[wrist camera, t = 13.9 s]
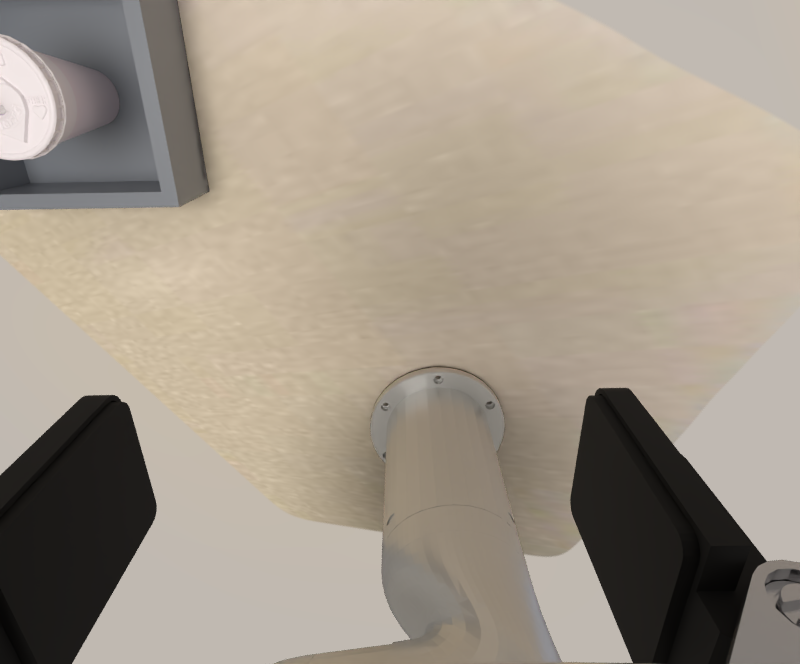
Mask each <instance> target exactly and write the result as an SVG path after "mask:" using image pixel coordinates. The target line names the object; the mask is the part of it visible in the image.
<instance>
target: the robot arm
mask: <svg viewBox="0 0 800 664" xmlns="http://www.w3.org/2000/svg"><path fill="white" fill-rule="evenodd" d="M436 376H439V377H436ZM489 401H490V402H489ZM504 430H505V424H504V416H503V412H502V408H501V406H500V403H499V401H498V398H497V397H496V396H495V394H494V393H493V391H492V390H491V389H490V388H489V387H488V386H487V385H486V384H485V383H484V382H483V381H481V380H480V379H478V378H477V377H475V376H473V375H471V374H469V373H466V372H464V371H461V370H457V369H452V368H441V367H433V368H426V369H420V370H417V371H414V372H411V373H408V374H406V375H404V376H402V377H400V378H398V379H397V380H396V381H394V382H393V383H392V384H390V385H389V386H388V387H387V388H386V389H385V390H384V391H383V393H382V394H381V395H380V396H379V398H378V400H377V402H376V403H375V405H374V408H373V412H372V415H371V423H370V432H371V439H372V443H373V446H374V448H375V450H376V452H377V454H378V456H379V457H380V458H381V459H382V461H383V462H384V463H385V489H384V515H383V543H382V584H383V588H384V593H385V596H386V599H387V601H388V604H389V607H390V609H391V611H392V613H393V615H394V616H395V618H396V620H397V621H398V622H399V624H400V626H401V627H402V629H403V630H404V631H405V633H406V634H407V635H408V636H409V638H410V640H404V641H398V642H393V643H392V644H389V645H381V646H373V647H365V648H358V649H350V650H343V651H335V652H327V653H320V654H312V655H305V656H300V657H295V658H290V659H286V660H282V661H279V662H277V663H274V664H800V563H799V562H792V561H786V560H776V561H766V560H765V559H764V557H763V556H762V555H761V553H760V552H759V551H758V550H757V548H756V547H755V546H754V544H753V543H752V542H751V541H750V539H749V538H748V537H747V535H746V534H745V533H744V532H743V530H742V529H741V528H740V527H739V525H738V524H737V523H736V522H735V520H734V519H733V518H732V516H731V515H730V514H729V513H728V511H727V510H726V509H725V508H724V506H723V505H722V504H721V502H720V501H719V500H718V499H717V497H716V496H715V495H714V493H713V492H712V491H711V490H710V488H709V487H708V486H707V485H706V484H705V482H704V481H703V480H702V478H701V477H700V476H699V474H698V473H697V472H696V471H695V469H694V468H693V467H692V466H691V464H690V463H689V462H688V460H687V459H686V458H685V457H683V455H681V454H680V453H679V451H678V450H677V449H676V448H675V446H674V445H673V444H672V442H671V441H670V440H669V439H668V437H667V436H666V435H665V433H664V432H663V431H662V430H661V428H660V427H659V426H658V424H657V423H656V422H655V421H654V419H653V418H652V417H651V415H650V414H649V413H648V412H647V410H646V409H645V408H644V406H643V405H642V404H641V403H640V401H639V400H638V399H637V397H636V396H635V395H634V394H633V392H632V391H631V390H630V389H628V388H599V389H598V390H597V391H596V393H595V396H588V398H587V400H586V405H585V411H584V417H583V424H582V430H581V436H580V442H579V448H578V455H577V461H576V467H575V473H574V480H573V486H572V492H571V500H570V501H571V511H572V515H573V518H574V520H575V523H576V525H577V527H578V530H579V532H580V535H581V537H582V540H583V542H584V545H585V547H586V549H587V552H588V554H589V557H590V559H591V562H592V564H593V566H594V569H595V571H596V574H597V576H598V578H599V581H600V583H601V586H602V588H603V591H604V593H605V596H606V598H607V600H608V603H609V605H610V608H611V610H612V613H613V615H614V618H615V620H616V622H617V625H618V627H619V630H620V632H621V634H622V637H623V640H624V642H625V644H626V647H627V649H628V652H629V654H630V657H631V659H632V661H633V663H580V662H579V663H578V662H573V663H572V662H562V661H561V659H560V657H559V654H558V652H557V650H556V647H555V645H554V643H553V641H552V638H551V636H550V633H549V631H548V629H547V626H546V623H545V621H544V618H543V616H542V613H541V610H540V607H539V604H538V601H537V598H536V595H535V592H534V589H533V585H532V582H531V579H530V575H529V572H528V569H527V565H526V561H525V558H524V554H523V550H522V547H521V543H520V539H519V536H518V532H517V528H516V524H515V521H514V517H513V513H512V510H511V506H510V502H509V498H508V495H507V491H506V487H505V484H504V480H503V476H502V472H501V469H500V465H499V461H498V458H497V454H496V452H497V451H498V449H499V447H500V445H501V442H502V440H503V435H504ZM155 515H156V500H155V497H154V493H153V490H152V486H151V482H150V479H149V475H148V472H147V468H146V465H145V461H144V458H143V454H142V450H141V447H140V443H139V440H138V436H137V433H136V429H135V426H134V422H133V418H132V415H131V411H130V408H129V406H128V405H127V403H125V402H121V400H120V399H119V398H118V397H117V396H115V395H99V396H98V395H93V396H84V397H82V398H81V399H80V400H78V402H76V403H75V404H74V405H73V406H72V407H71V408H70V409H69V410H68V411H67V412H66V413H65V414H64V415H63V416H62V417H61V418H60V419H59V420H58V421H57V422H56V423H54V424H53V425H52V426H51V427H50V428H49V429H48V430H47V431H46V432H45V433H44V434H43V435H42V436H41V437H40V438H39V439H38V440H37V441H36V442H35V443H34V444H33V445H32V446H30V447H29V448H28V449H27V450H26V451H25V452H24V453H23V454H22V455H21V456H20V457H19V458H18V459H17V460H16V461H15V462H14V463H13V464H12V465H11V466H10V467H9V468H8V469H6V470H5V471H4V472H3V473H2V474H1V475H0V664H72V662H73V661H74V659H75V657H76V656H77V654H78V652H79V650H80V649H81V647H82V645H83V643H84V642H85V640H86V638H87V636H88V635H89V633H90V631H91V629H92V628H93V626H94V624H95V622H96V621H97V619H98V617H99V615H100V614H101V612H102V610H103V608H104V607H105V605H106V603H107V601H108V600H109V598H110V596H111V595H112V593H113V591H114V589H115V588H116V586H117V584H118V582H119V581H120V579H121V577H122V575H123V574H124V572H125V570H126V568H127V567H128V565H129V563H130V562H131V560H132V558H133V556H134V555H135V553H136V551H137V549H138V548H139V546H140V544H141V542H142V541H143V539H144V537H145V535H146V534H147V532H148V530H149V528H150V527H151V525H152V523H153V521H154V519H155Z"/></svg>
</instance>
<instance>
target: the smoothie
mask: <svg viewBox="0 0 800 664" xmlns="http://www.w3.org/2000/svg"><path fill="white" fill-rule="evenodd" d="M119 106H120V102H119V96H118V93H117V90H116V88H115V86H114V85H113V83H112V82H111V81H110V80H109V79H108V78H107V77H106V76H105V75H104V74H102V73H101V72H99V71H97V70H94V69H91V68H88V67H84V66H81V65H78V64H75V63H72V62H69V61H65V60H62V59H59V58H56V57H53V56H50V55H46V54H43V53H40V52H37V51H34V50H31V49H30V48H29V47H28V46H26V45H25V44H23V43H21V42H19V41H17V40H15V39H13V38H12V37H10V36H6V35H2V34H0V159H5V160H24V159H35V158H38V157H41V156H43V155H46V154H47V153H49V152H50V151H51V150H52V149H54V148H55V147H56V146H57V144H59V143H61V142H63V141H66V140H69V139H71V138H74V137H76V136H79V135H81V134H84V133H86V132H89V131H91V130H94V129H96V128H99V127H101V126H104V125H106V124H109V123H110V122H112V121H113V120H114V119H115V118H116V116H117V114H118V111H119Z"/></svg>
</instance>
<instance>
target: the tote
mask: <svg viewBox="0 0 800 664" xmlns="http://www.w3.org/2000/svg"><path fill="white" fill-rule="evenodd" d="M0 34H2V35H6V36H10V37H12V38H13V39H15V40H17V41H19V42H21V43H23V44H25V45H26V46H28V47H29V48H30V49H31V50H34V51H37V52H40V53H43V54H46V55H50V56H53V57H56V58H59V59H62V60H65V61H69V62H72V63H75V64H78V65H81V66H84V67H88V68H91V69H94V70H97V71H99V72H101V73H102V74H104V75H105V76H106V77H107V78H108V79H109V80H110V81H111V82H112V83H113V85H114V86H115V88H116V90H117V93H118V96H119V102H120V106H119V111H118V114H117V116H116V118H115V119H114V120H113V121H112V122H110V123H109V124H106V125H104V126H101V127H99V128H96V129H94V130H91V131H89V132H86V133H84V134H81V135H79V136H76V137H74V138H71V139H69V140H66V141H63V142H61V143H59V144H57V146H56V147H55V148H54V149H52V150H51V151H50V152H49V153H47V154H46V155H43V156H41V157H38V158H35V159H24V160H5V159H0V210H19V209H81V208H144V207H180V206H182V205H184V204H186V203H188V202H190V201H192V200H194V199H196V198H198V197H199V196H201V195H203V194H205V193H207V192H209V187H208V181H207V175H206V169H205V163H204V157H203V151H202V145H201V140H200V134H199V128H198V122H197V116H196V110H195V104H194V98H193V92H192V86H191V80H190V74H189V68H188V62H187V56H186V50H185V44H184V39H183V33H182V27H181V21H180V15H179V9H178V3H177V0H0Z"/></svg>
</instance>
